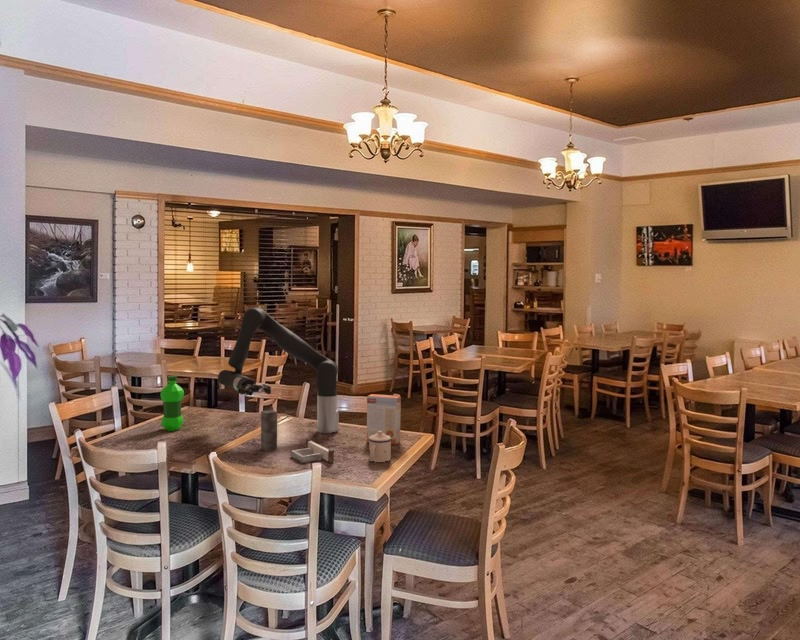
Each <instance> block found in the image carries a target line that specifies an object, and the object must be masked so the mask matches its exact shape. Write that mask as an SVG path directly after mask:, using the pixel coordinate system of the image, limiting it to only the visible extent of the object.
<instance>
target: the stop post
mask: <svg viewBox="0 0 800 640" xmlns="http://www.w3.org/2000/svg"><path fill="white" fill-rule="evenodd" d="M261 448H262V449H261ZM260 449H261V450H263V451H264V450H265V451H264V452H270V451H269V450H271V451H277V450H278V411H276V410H275V409H267V410H261V411H260ZM276 449H277V450H276Z"/></svg>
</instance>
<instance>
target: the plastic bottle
mask: <svg viewBox="0 0 800 640" xmlns="http://www.w3.org/2000/svg"><path fill="white" fill-rule="evenodd" d="M176 381H178V376H177V375H168V376H167V382H168V384H166V385H165V386H164V387H163V388H162V389H161V390H160V393H159V394H160V400H162V403H163V405H162V406H163V417H162V419H161V421H160V422H161V427H163V429H165V430H166V431H169V432H170V431H171V432H173V431H178V430H179V429H180V428H182V426H183V424H184V417H183V415H182V400H183V399H184V396H185V395H184V394H185V391H184V389H183V388H182V387H181V385H179V384H177V382H176Z"/></svg>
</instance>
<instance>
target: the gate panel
mask: <svg viewBox="0 0 800 640" xmlns="http://www.w3.org/2000/svg"><path fill="white" fill-rule="evenodd" d="M308 448H312V454H317V453H323V460H324V459H325V460H324V461H326V460H327V461H326V462H328V461H329V450H330V449H329V448H327V447H324V446H322V445H321V444H318V443H316V442H315V441H313V440H311V441H308Z"/></svg>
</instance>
